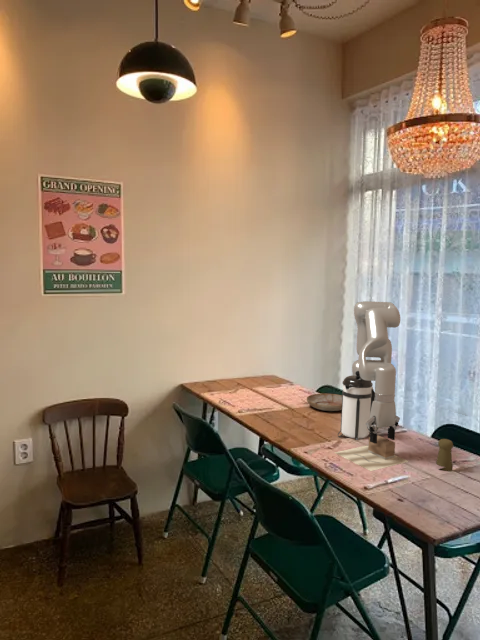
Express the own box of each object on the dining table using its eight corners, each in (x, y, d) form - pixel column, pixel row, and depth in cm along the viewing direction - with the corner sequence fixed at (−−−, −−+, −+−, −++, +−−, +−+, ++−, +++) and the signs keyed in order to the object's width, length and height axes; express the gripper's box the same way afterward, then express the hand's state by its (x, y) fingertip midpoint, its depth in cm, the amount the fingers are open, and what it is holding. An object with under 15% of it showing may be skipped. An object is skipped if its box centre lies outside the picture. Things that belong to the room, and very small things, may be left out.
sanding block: (368, 451, 199) (368, 437, 198) (377, 449, 201) (377, 435, 201) (385, 459, 191) (385, 444, 190) (394, 457, 194) (395, 442, 193)
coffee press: (375, 445, 210) (379, 375, 207) (337, 441, 214) (340, 373, 210) (373, 432, 227) (376, 367, 224) (337, 429, 230) (340, 365, 227)
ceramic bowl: (297, 404, 271) (298, 395, 270) (333, 400, 281) (334, 391, 280) (322, 416, 250) (322, 406, 249) (359, 411, 260) (360, 402, 259)
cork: (438, 463, 193) (440, 436, 191) (454, 467, 189) (456, 439, 188) (433, 468, 188) (435, 440, 187) (449, 472, 184) (451, 444, 183)
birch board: (333, 456, 197) (333, 452, 197) (370, 448, 207) (370, 444, 207) (370, 475, 180) (370, 471, 180) (408, 465, 190) (409, 461, 190)
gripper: (392, 393, 201) (390, 434, 203) (361, 397, 192) (359, 441, 194) (407, 397, 195) (405, 440, 196) (375, 402, 186) (373, 446, 187)
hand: (382, 440), depth 195 cm, fingers open, 9 cm apart
